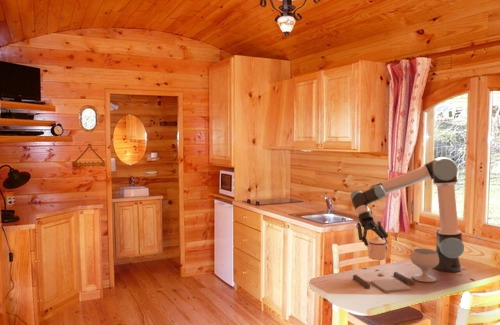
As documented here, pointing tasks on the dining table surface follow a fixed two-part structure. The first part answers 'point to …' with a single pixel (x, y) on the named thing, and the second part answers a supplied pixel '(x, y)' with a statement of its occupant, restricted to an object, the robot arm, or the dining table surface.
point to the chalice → (424, 263)
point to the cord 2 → (403, 278)
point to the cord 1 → (361, 281)
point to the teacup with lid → (377, 249)
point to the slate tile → (390, 285)
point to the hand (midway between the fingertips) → (378, 250)
